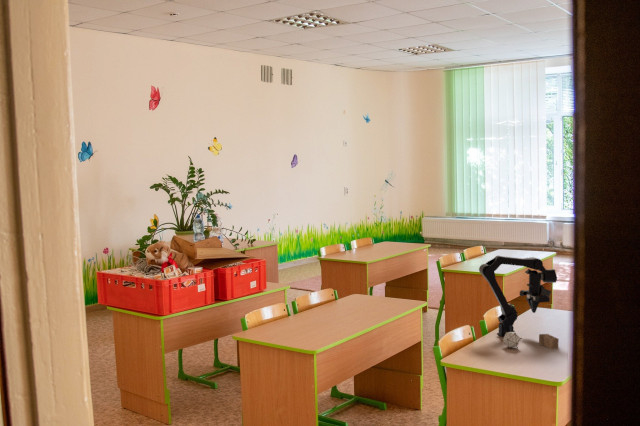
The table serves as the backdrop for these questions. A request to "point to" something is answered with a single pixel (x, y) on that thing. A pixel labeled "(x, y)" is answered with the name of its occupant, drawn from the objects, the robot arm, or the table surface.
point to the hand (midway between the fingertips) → (533, 312)
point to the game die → (511, 339)
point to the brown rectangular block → (548, 340)
